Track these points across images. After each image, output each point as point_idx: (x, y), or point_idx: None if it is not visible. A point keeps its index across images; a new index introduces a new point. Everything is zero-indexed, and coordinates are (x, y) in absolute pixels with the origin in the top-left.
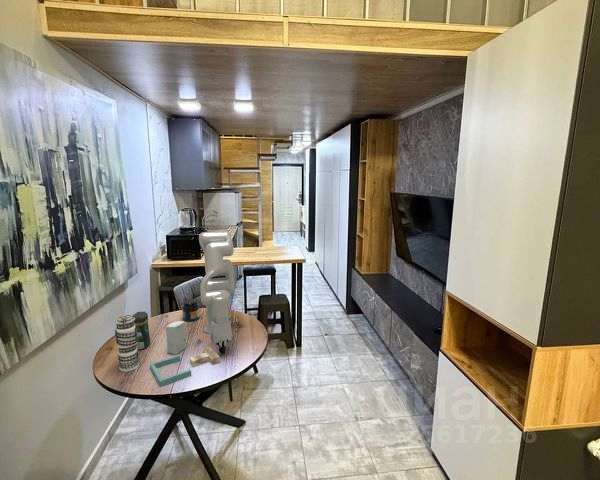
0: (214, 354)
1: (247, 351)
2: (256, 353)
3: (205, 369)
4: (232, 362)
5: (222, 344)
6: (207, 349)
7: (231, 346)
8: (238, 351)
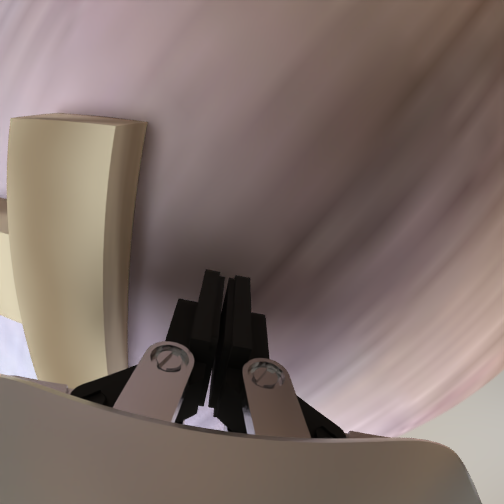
0: (80, 351)
1: (404, 388)
2: (400, 430)
3: (15, 348)
4: (208, 425)
5: (220, 401)
6: (52, 168)
7: (427, 216)
8: (375, 350)
